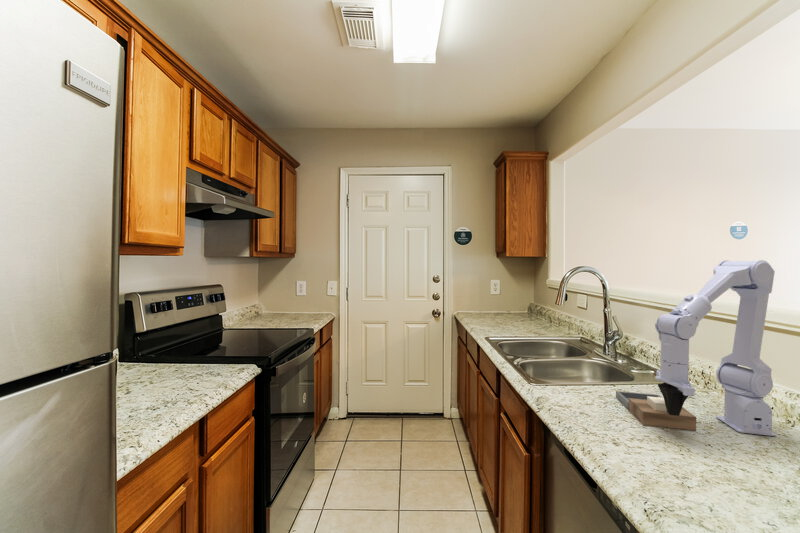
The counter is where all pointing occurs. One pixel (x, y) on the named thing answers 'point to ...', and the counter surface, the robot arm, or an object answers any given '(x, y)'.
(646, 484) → the counter surface
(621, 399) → the box
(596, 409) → the counter surface
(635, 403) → the wooden cutting board
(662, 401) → the tile
